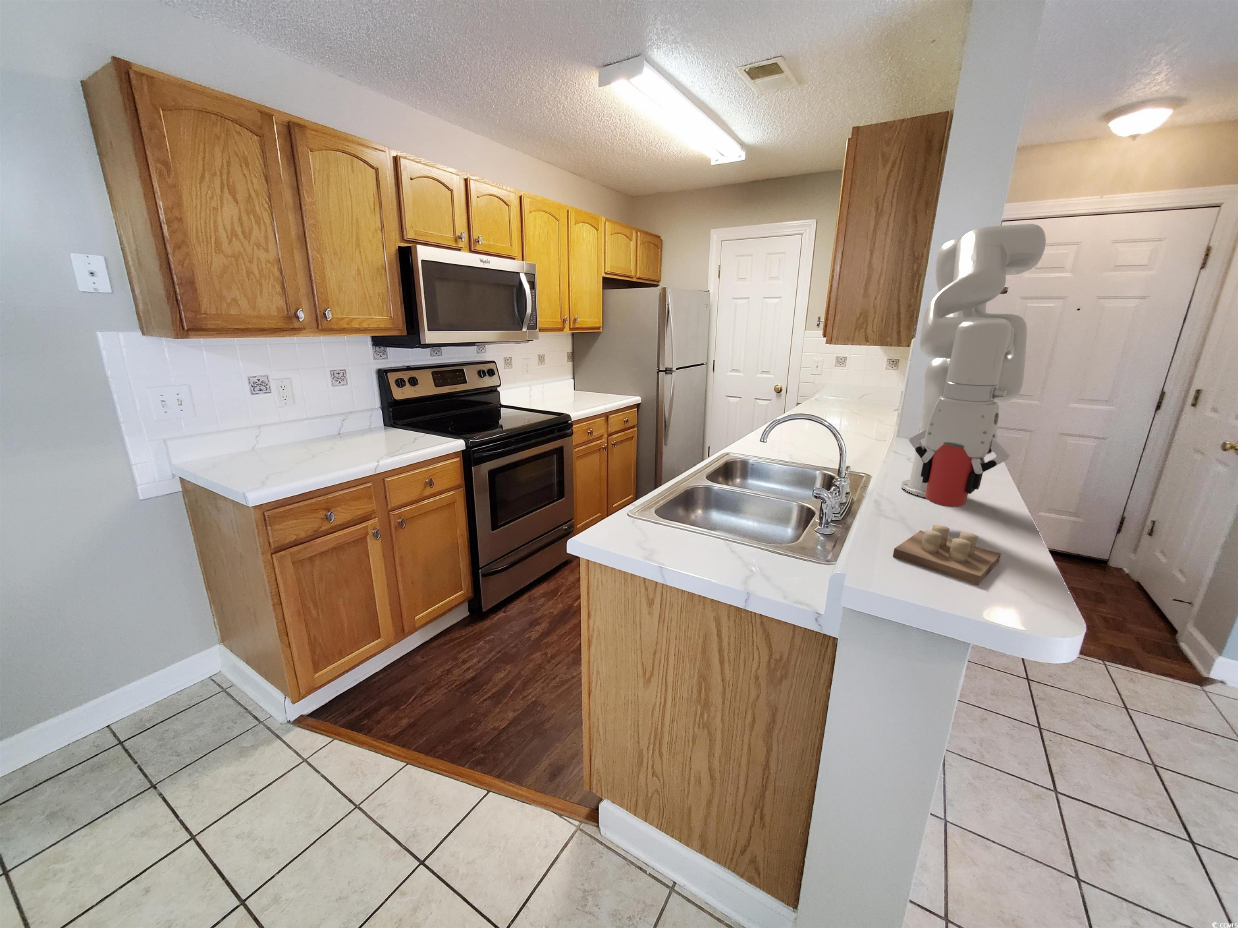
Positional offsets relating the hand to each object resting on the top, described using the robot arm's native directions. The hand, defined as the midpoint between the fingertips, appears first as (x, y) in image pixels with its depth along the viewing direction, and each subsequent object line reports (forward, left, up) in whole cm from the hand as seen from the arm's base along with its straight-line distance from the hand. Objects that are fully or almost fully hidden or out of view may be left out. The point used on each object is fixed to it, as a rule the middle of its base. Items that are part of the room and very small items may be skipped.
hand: (948, 485), depth 92 cm
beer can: (0, 0, -3) cm, 3 cm away
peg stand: (+15, +6, -8) cm, 18 cm away
